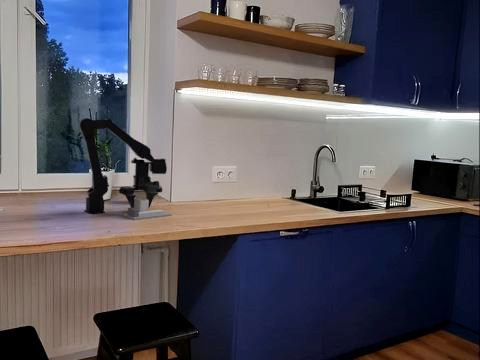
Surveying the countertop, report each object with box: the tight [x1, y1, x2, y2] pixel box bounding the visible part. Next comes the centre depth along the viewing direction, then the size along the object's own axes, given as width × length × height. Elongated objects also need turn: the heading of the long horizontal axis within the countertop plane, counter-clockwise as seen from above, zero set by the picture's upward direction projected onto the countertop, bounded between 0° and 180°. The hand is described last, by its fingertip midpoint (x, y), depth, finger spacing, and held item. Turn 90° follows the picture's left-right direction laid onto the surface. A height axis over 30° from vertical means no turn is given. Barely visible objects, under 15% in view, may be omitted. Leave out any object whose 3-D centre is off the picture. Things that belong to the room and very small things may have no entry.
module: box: [134, 197, 149, 212], centre depth 192 cm, size 4×6×6 cm, turn 46°
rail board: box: [122, 207, 172, 221], centre depth 185 cm, size 18×9×4 cm, turn 135°
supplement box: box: [132, 175, 154, 199], centre depth 212 cm, size 8×5×13 cm, turn 84°
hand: (140, 208), depth 193 cm, fingers open, 8 cm apart
